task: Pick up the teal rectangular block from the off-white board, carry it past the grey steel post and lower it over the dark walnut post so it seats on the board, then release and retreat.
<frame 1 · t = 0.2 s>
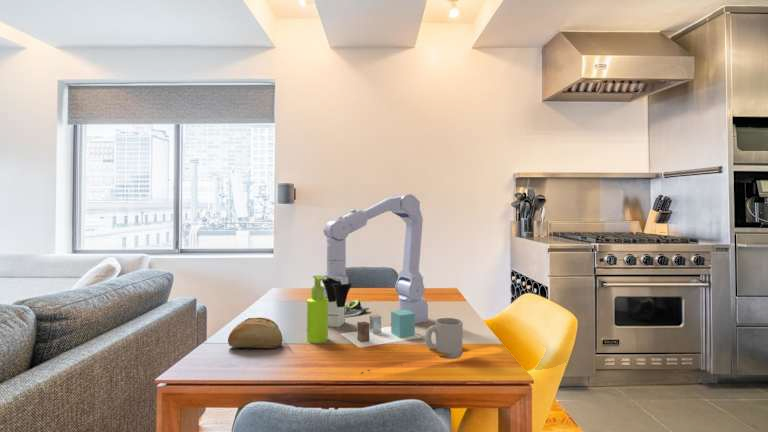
hand: (336, 304, 124), 10 cm above the table, tool pointing down, fingers open, 7 cm apart
syrup box: (334, 329, 133), on the table
post board: (380, 340, 121), on the table
steel post: (375, 332, 124), resting on post board
salad plate: (342, 314, 154), on the table
teal rectangular block: (402, 334, 122), point 1 cm above the table, touching post board
cup: (443, 355, 110), on the table
soap dispenser: (318, 346, 116), on the table
bread roll: (255, 347, 115), on the table
walnut post: (363, 340, 116), resting on post board
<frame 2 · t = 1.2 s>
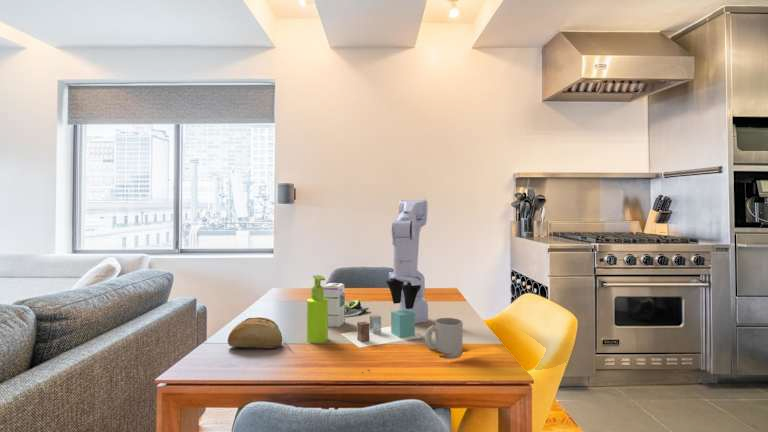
hand: (402, 305, 122), 10 cm above the table, tool pointing down, fingers open, 7 cm apart
nothing on the table moved.
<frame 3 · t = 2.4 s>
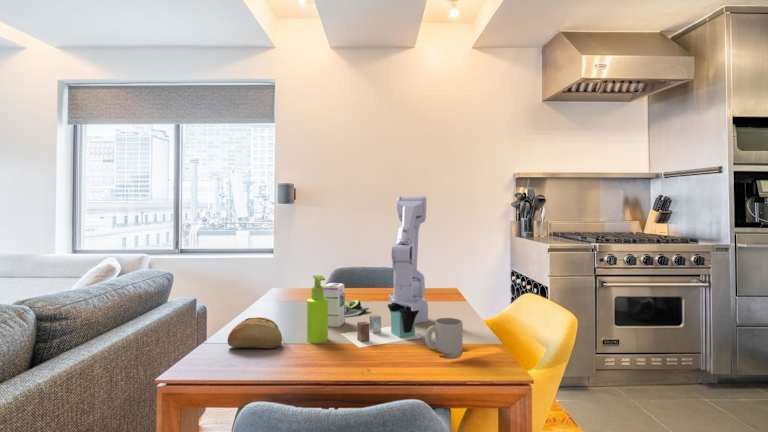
hand: (402, 329, 122), 3 cm above the table, tool pointing down, fingers closed on teal rectangular block, 5 cm apart
teal rectangular block: (402, 334, 122), point 1 cm above the table, touching gripper, post board
everything else where it was.
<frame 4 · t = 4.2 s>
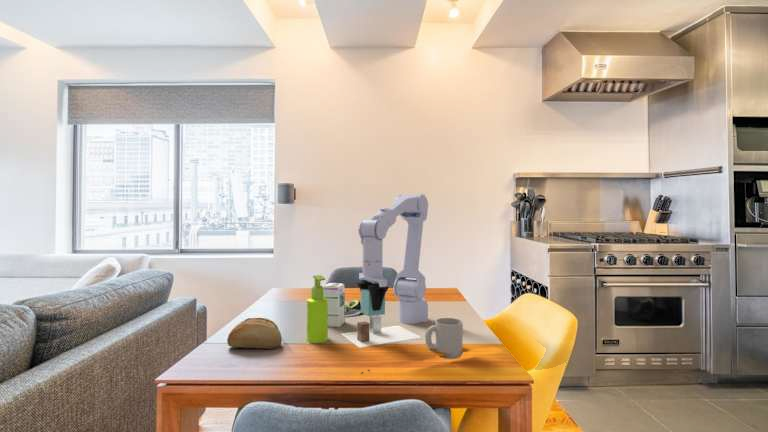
hand: (372, 308, 117), 11 cm above the table, tool pointing down, fingers closed on teal rectangular block, 5 cm apart
teal rectangular block: (372, 313, 117), point 9 cm above the table, touching gripper
everything else where it was.
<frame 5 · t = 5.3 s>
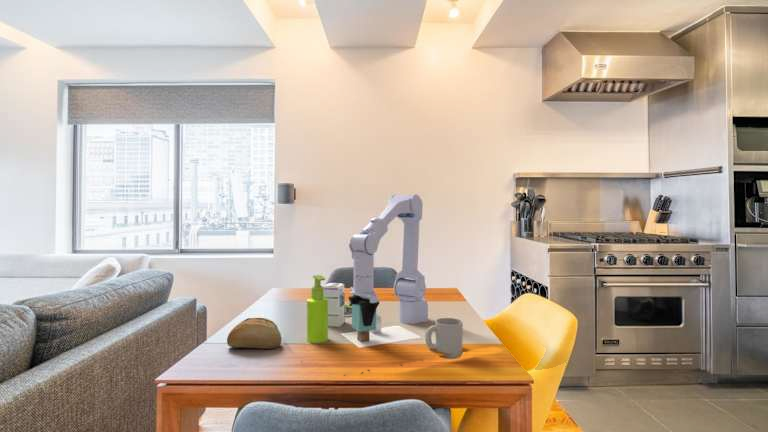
hand: (363, 323, 116), 6 cm above the table, tool pointing down, fingers closed on teal rectangular block, 5 cm apart
teal rectangular block: (363, 328, 116), point 5 cm above the table, touching gripper
everything else where it was.
when the fingers open (4 cm above the table, at t = 6.3 s): teal rectangular block stays where it is, resting on post board.
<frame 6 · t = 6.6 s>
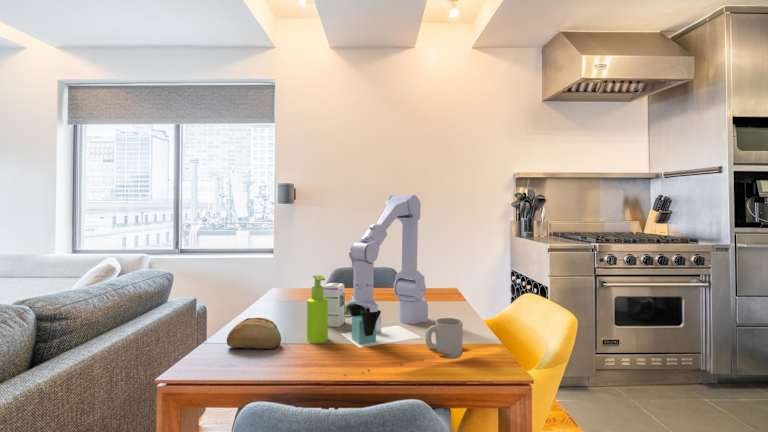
hand: (363, 331, 116), 4 cm above the table, tool pointing down, fingers open, 7 cm apart
teal rectangular block: (363, 340, 116), point 1 cm above the table, touching post board
everything else where it was.
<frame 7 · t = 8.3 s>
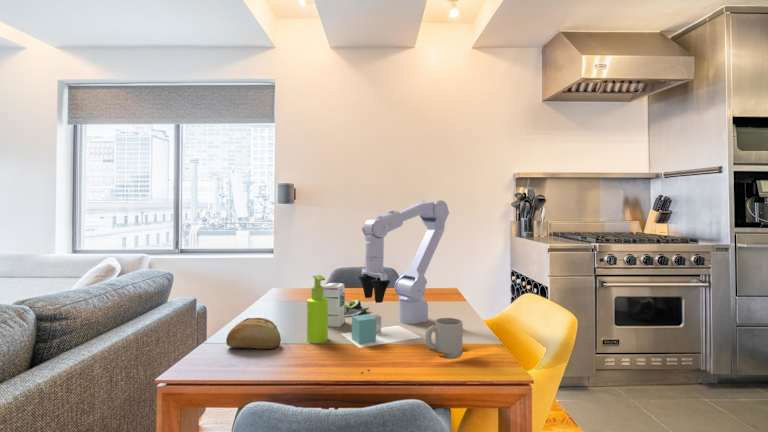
hand: (373, 300, 128), 10 cm above the table, tool pointing down, fingers open, 7 cm apart
nothing on the table moved.
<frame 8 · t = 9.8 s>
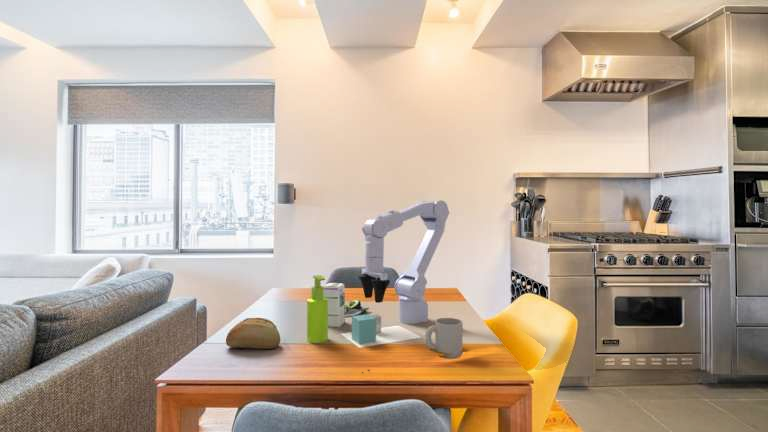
hand: (373, 299, 129), 10 cm above the table, tool pointing down, fingers open, 7 cm apart
nothing on the table moved.
at the end: teal rectangular block 0.1 cm from the walnut post (horizontally); teal rectangular block point 1.5 cm above the table; teal rectangular block tilted 0° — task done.
